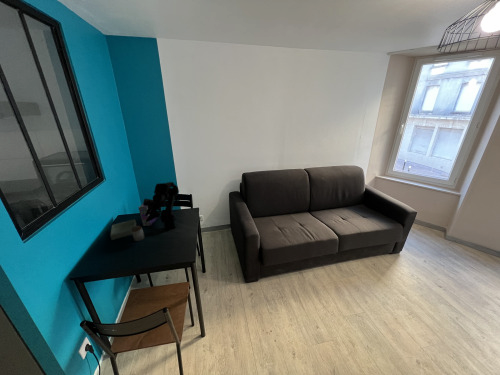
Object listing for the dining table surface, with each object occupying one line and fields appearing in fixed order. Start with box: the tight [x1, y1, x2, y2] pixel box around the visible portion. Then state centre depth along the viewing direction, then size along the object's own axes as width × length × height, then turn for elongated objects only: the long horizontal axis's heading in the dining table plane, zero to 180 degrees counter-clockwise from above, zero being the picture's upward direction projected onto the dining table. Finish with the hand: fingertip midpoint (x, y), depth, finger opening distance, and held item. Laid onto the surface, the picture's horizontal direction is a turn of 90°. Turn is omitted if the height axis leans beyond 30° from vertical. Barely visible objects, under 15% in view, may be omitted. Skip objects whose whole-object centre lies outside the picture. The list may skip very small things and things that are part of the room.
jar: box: [131, 225, 145, 242], centre depth 131 cm, size 6×6×8 cm
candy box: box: [138, 203, 159, 227], centre depth 149 cm, size 14×6×16 cm, turn 179°
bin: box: [110, 219, 137, 241], centre depth 139 cm, size 15×15×4 cm
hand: (146, 218), depth 130 cm, fingers open, 9 cm apart
